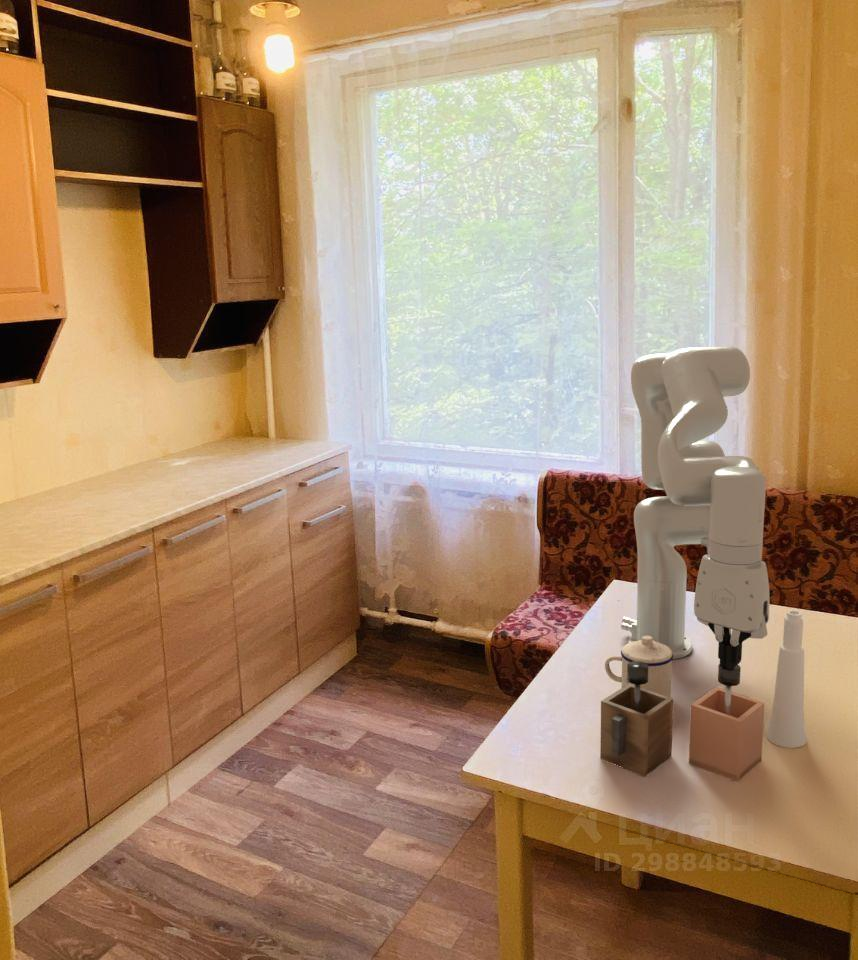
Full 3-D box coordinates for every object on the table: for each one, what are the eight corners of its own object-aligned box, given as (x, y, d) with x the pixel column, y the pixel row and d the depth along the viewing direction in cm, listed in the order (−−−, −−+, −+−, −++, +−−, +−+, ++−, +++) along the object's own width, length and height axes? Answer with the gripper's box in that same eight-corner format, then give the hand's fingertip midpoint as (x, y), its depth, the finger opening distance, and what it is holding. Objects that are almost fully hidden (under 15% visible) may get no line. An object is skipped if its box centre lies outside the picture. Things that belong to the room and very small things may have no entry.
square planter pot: (688, 763, 138) (690, 704, 135) (719, 738, 144) (722, 682, 142) (737, 782, 132) (740, 722, 130) (767, 755, 139) (770, 698, 136)
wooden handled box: (671, 756, 140) (673, 698, 137) (637, 782, 133) (638, 722, 131) (628, 739, 145) (629, 683, 143) (593, 763, 138) (593, 705, 136)
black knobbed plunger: (700, 750, 137) (703, 667, 134) (717, 736, 141) (721, 655, 138) (734, 763, 133) (738, 678, 130) (751, 748, 137) (755, 666, 134)
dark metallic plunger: (611, 748, 139) (612, 666, 136) (630, 734, 143) (632, 654, 140) (642, 760, 135) (643, 677, 132) (661, 746, 139) (663, 664, 136)
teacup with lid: (675, 690, 161) (677, 630, 159) (667, 712, 153) (669, 650, 151) (609, 680, 166) (610, 622, 163) (599, 702, 158) (600, 641, 155)
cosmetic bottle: (807, 733, 145) (816, 608, 140) (805, 751, 140) (814, 622, 135) (768, 726, 147) (775, 603, 142) (764, 744, 142) (771, 616, 137)
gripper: (676, 547, 132) (672, 659, 136) (773, 568, 122) (765, 689, 126) (700, 535, 137) (696, 644, 142) (796, 554, 127) (788, 671, 131)
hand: (729, 665), depth 134 cm, fingers closed
